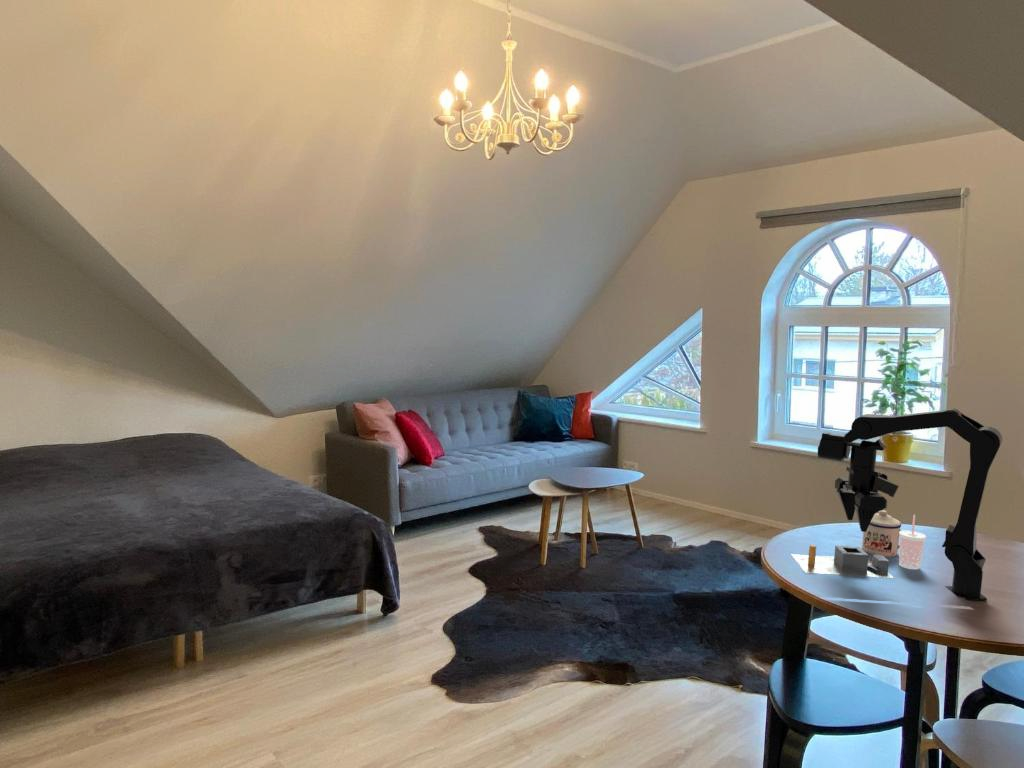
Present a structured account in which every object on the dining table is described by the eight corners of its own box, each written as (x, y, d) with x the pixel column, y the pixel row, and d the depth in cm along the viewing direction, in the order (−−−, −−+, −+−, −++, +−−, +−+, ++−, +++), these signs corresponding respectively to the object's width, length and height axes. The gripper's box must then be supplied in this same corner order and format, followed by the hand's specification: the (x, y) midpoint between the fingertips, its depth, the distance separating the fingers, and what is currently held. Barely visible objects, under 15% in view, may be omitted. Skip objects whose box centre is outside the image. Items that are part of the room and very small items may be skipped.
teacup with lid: (857, 553, 200) (861, 511, 199) (864, 544, 208) (868, 504, 206) (907, 564, 193) (911, 520, 192) (913, 554, 201) (917, 512, 199)
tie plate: (893, 580, 182) (895, 566, 181) (805, 574, 184) (806, 560, 183) (873, 561, 194) (874, 547, 194) (790, 556, 196) (791, 543, 196)
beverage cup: (926, 573, 187) (931, 519, 185) (899, 571, 188) (905, 517, 186) (918, 565, 193) (923, 512, 191) (892, 562, 194) (897, 510, 192)
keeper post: (815, 566, 188) (817, 547, 187) (808, 566, 188) (810, 547, 187) (813, 564, 189) (815, 545, 189) (807, 563, 189) (808, 544, 189)
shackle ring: (866, 572, 185) (868, 555, 184) (841, 571, 185) (843, 553, 184) (858, 563, 190) (859, 547, 190) (833, 562, 191) (835, 545, 190)
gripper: (912, 476, 175) (906, 540, 177) (880, 458, 194) (874, 516, 196) (863, 473, 176) (857, 537, 178) (836, 456, 195) (831, 513, 197)
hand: (856, 525), depth 187 cm, fingers open, 9 cm apart
